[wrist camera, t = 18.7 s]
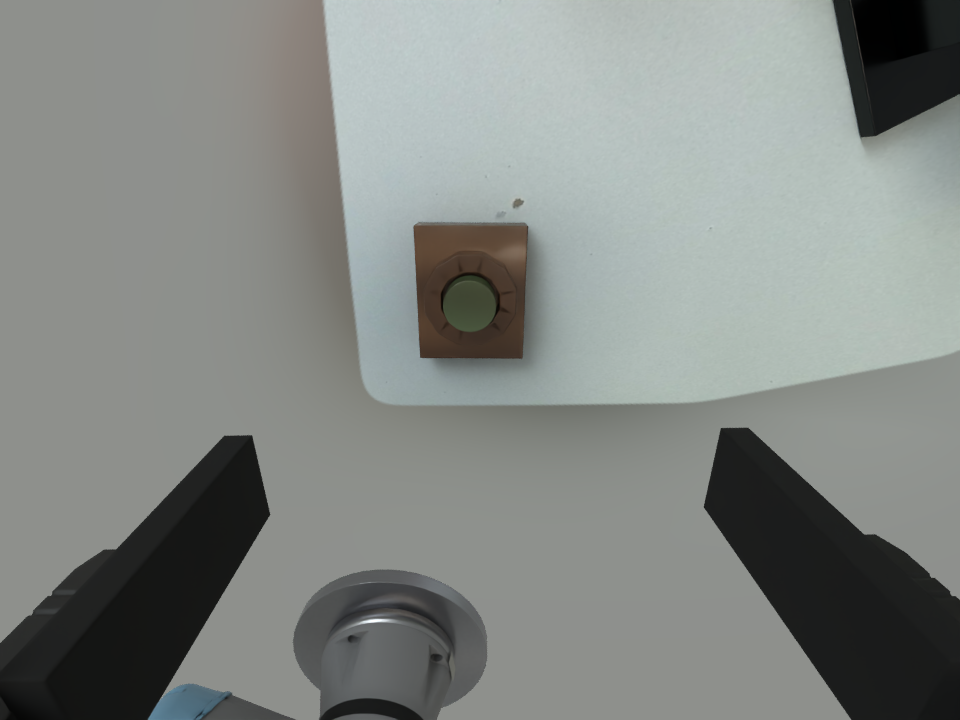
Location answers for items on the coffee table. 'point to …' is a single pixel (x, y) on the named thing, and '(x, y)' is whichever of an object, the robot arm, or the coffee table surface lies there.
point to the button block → (476, 253)
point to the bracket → (899, 57)
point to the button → (469, 303)
